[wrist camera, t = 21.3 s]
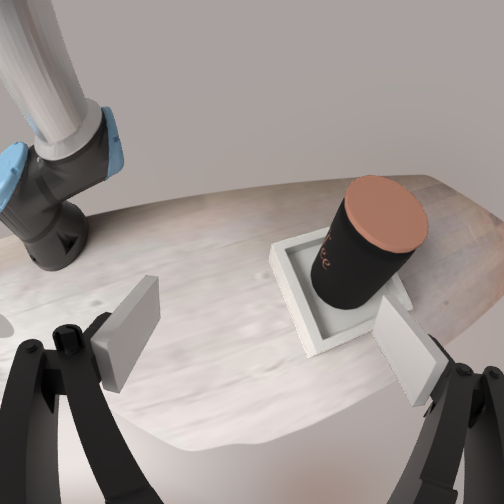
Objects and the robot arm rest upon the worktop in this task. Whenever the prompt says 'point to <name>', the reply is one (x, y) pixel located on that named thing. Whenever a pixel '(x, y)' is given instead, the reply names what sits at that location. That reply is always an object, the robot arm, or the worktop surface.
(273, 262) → the white square tray
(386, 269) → the coffee jar
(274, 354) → the worktop surface
